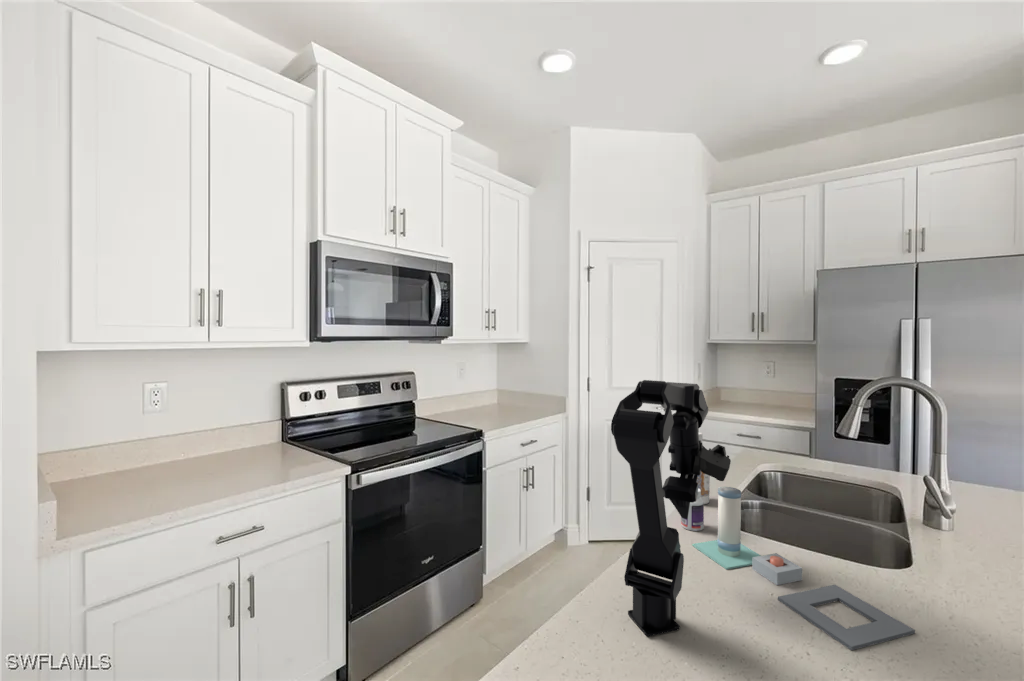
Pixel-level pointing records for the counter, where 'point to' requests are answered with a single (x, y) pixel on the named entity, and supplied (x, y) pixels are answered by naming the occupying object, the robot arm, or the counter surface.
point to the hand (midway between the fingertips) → (688, 505)
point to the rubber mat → (725, 561)
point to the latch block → (777, 569)
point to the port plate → (849, 637)
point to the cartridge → (729, 521)
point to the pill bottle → (695, 515)
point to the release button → (776, 561)
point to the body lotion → (704, 482)
